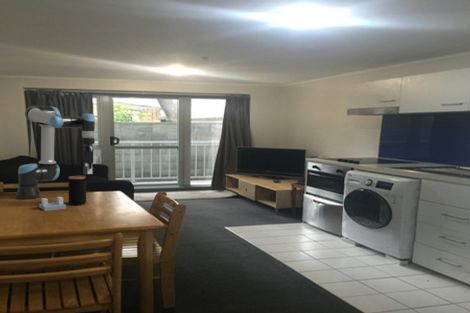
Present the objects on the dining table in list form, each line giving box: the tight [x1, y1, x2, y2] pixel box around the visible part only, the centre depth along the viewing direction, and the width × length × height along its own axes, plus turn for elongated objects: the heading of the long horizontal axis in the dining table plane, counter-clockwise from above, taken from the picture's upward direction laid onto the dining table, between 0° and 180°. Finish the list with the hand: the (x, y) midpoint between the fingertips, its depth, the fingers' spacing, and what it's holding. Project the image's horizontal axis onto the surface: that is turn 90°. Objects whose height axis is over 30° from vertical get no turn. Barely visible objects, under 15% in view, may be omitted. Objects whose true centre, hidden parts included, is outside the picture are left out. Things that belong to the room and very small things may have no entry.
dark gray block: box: [82, 165, 94, 176], centre depth 242 cm, size 4×5×5 cm
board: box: [38, 196, 67, 212], centre depth 230 cm, size 14×12×6 cm
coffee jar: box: [68, 175, 87, 206], centre depth 242 cm, size 11×11×18 cm
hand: (88, 173), depth 242 cm, fingers closed on dark gray block, 4 cm apart
